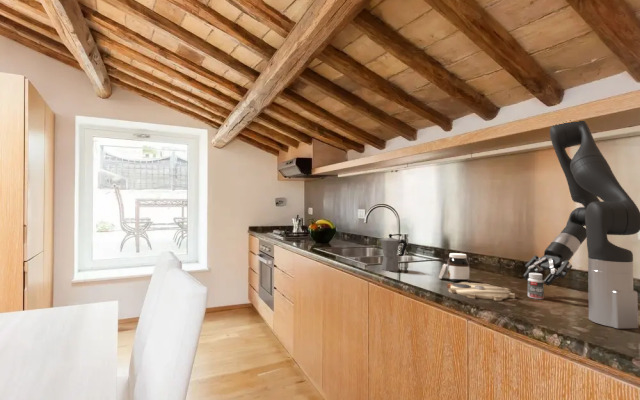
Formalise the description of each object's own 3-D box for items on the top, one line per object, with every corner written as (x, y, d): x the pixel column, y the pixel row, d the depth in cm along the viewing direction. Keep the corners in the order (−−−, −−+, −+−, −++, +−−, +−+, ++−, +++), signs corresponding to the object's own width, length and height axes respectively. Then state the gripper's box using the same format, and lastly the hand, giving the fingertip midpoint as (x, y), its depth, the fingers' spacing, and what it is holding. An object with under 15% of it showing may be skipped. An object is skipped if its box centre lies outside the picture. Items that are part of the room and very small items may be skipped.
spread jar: (472, 284, 135) (472, 255, 135) (444, 283, 135) (444, 255, 136) (460, 278, 147) (460, 252, 147) (435, 277, 147) (435, 251, 148)
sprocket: (530, 300, 111) (530, 294, 111) (466, 300, 109) (466, 294, 109) (489, 284, 134) (489, 280, 134) (436, 285, 132) (436, 280, 132)
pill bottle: (529, 298, 113) (529, 274, 114) (526, 295, 118) (526, 272, 118) (545, 300, 112) (545, 275, 112) (541, 296, 116) (541, 273, 116)
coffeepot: (374, 269, 165) (374, 233, 166) (382, 266, 173) (383, 232, 173) (402, 273, 156) (402, 235, 156) (410, 270, 163) (410, 234, 164)
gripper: (539, 239, 124) (513, 270, 121) (575, 243, 110) (546, 278, 108) (551, 253, 125) (525, 283, 122) (588, 258, 111) (560, 293, 108)
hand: (535, 281), depth 115 cm, fingers open, 8 cm apart
